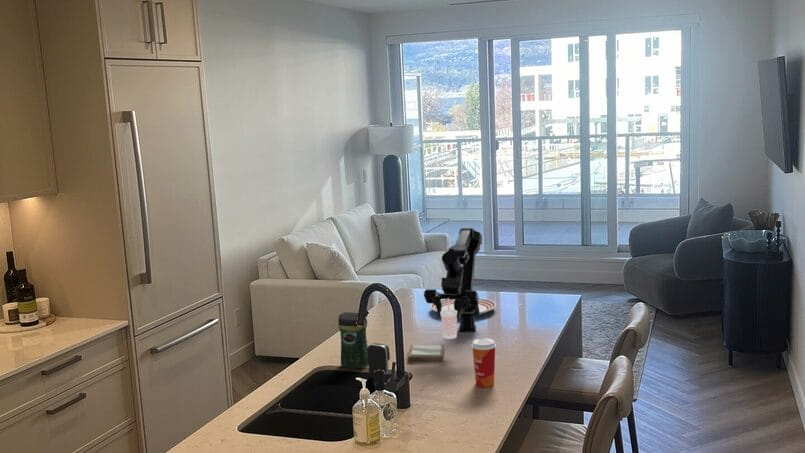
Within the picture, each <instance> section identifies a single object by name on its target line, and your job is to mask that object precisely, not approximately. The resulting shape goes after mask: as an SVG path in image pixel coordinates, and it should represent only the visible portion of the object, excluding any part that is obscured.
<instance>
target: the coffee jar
mask: <svg viewBox="0 0 805 453" xmlns="http://www.w3.org/2000/svg"><path fill="white" fill-rule="evenodd" d="M358 313H359V312H345V311H344V312H342V313H340V314H339V315H338V321H337V322H338V324H337V325H338V329H339V333H340V365H341V366H342V367H343V368H348V369H349V368H350V369H362V368H365V367H367V366H368V357H367V348H368V346H369V345H368V341H367V326H368V319H367V317H366V318H365V323H364V326H362V327H359V326H357V324H356V322H357V317H358Z"/></svg>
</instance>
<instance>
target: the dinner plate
mask: <svg viewBox="0 0 805 453" xmlns="http://www.w3.org/2000/svg"><path fill="white" fill-rule="evenodd" d="M454 300H456V299H449V309H450V310H454ZM440 301H441V303H442V309H441V311H443V310H448V299H441V300H440ZM429 306H430V307H429V308H430V309H431V310H432V311H433V312H435V313H437V307H436V305H434V304H433V303H430V305H429ZM478 306H479V313H480V314H479V315H477V316H481V315H482V314H486V313H488V312H490V311H492V310H493V309H495V308H496V306H497V303H496V302H495V301H493V300H490V299H488V298H482V297H479V303H478ZM474 311H475V310H474ZM477 316H476V317H477Z"/></svg>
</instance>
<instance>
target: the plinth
mask: <svg viewBox="0 0 805 453" xmlns="http://www.w3.org/2000/svg"><path fill="white" fill-rule="evenodd" d="M408 351H409V352H408V355H407V363H443V362H444V357H445V344H429V345H428V344H418V345H417V344H414V345H412V344H411V345H410V346H409V350H408Z"/></svg>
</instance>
